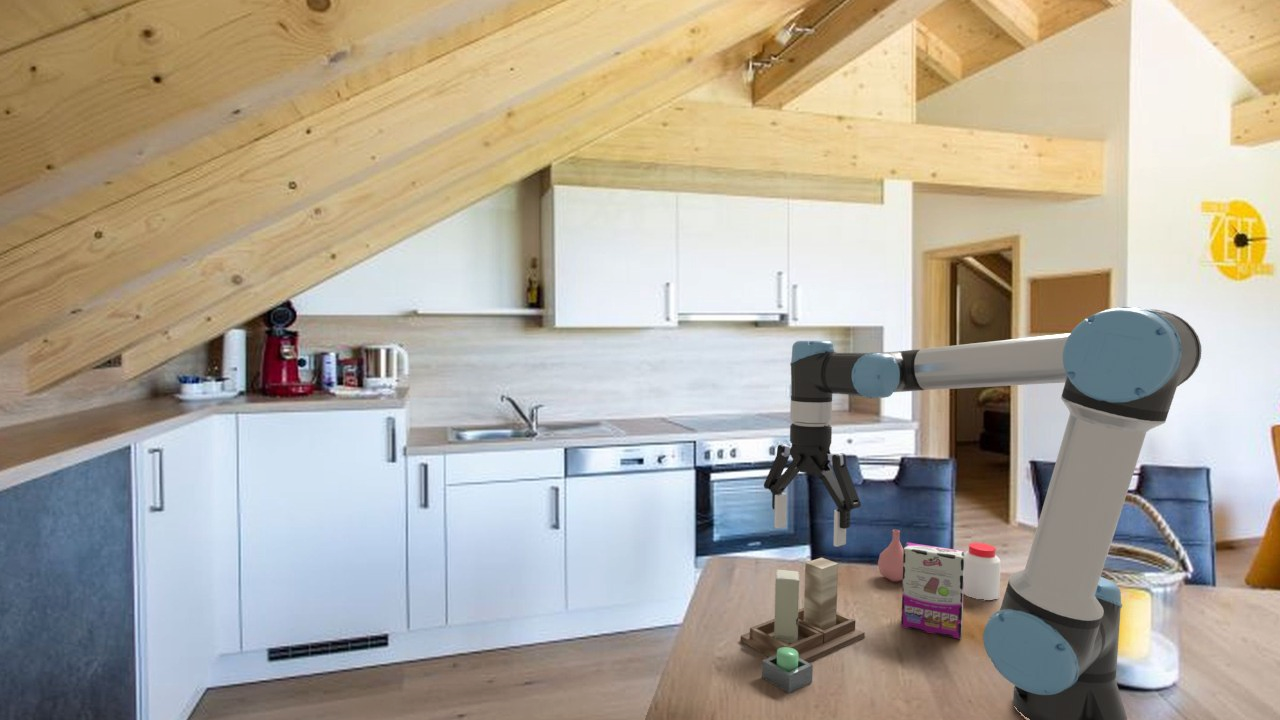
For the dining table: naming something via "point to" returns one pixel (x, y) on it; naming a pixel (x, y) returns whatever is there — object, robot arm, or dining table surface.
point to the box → (786, 606)
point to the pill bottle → (981, 572)
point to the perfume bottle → (892, 559)
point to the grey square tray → (787, 674)
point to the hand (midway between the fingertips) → (808, 535)
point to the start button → (787, 658)
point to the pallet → (805, 637)
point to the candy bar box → (933, 589)
